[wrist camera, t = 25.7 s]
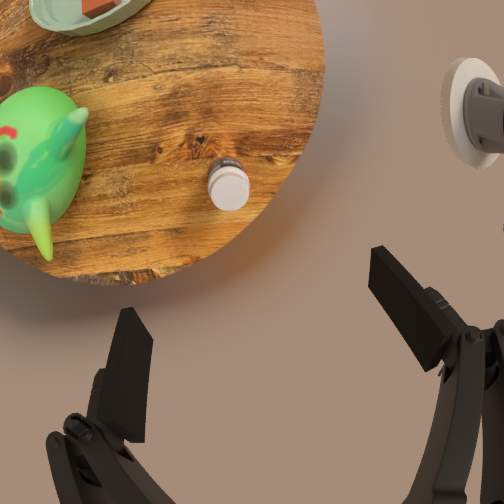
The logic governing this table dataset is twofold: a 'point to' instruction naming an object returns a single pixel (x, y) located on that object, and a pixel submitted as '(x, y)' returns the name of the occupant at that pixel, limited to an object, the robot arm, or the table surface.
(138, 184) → the table surface
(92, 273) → the table surface
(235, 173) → the pill bottle
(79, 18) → the bowl
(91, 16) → the block
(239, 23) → the table surface
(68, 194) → the toy bird
